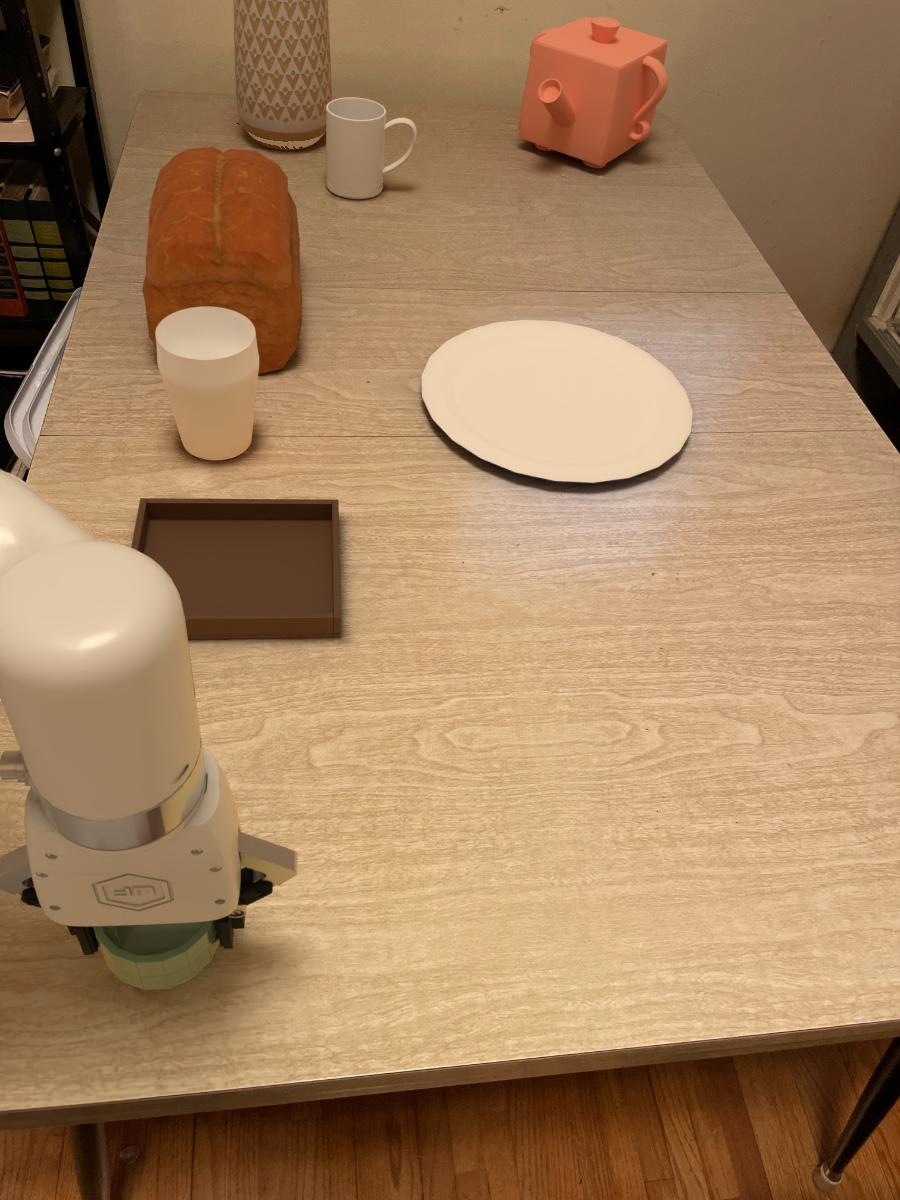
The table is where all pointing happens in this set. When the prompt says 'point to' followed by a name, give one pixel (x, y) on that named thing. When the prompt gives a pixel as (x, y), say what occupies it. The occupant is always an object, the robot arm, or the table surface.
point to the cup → (210, 378)
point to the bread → (226, 246)
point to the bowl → (158, 952)
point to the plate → (556, 401)
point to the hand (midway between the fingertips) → (162, 926)
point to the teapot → (592, 89)
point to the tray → (248, 564)
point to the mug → (359, 146)
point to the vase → (282, 68)
